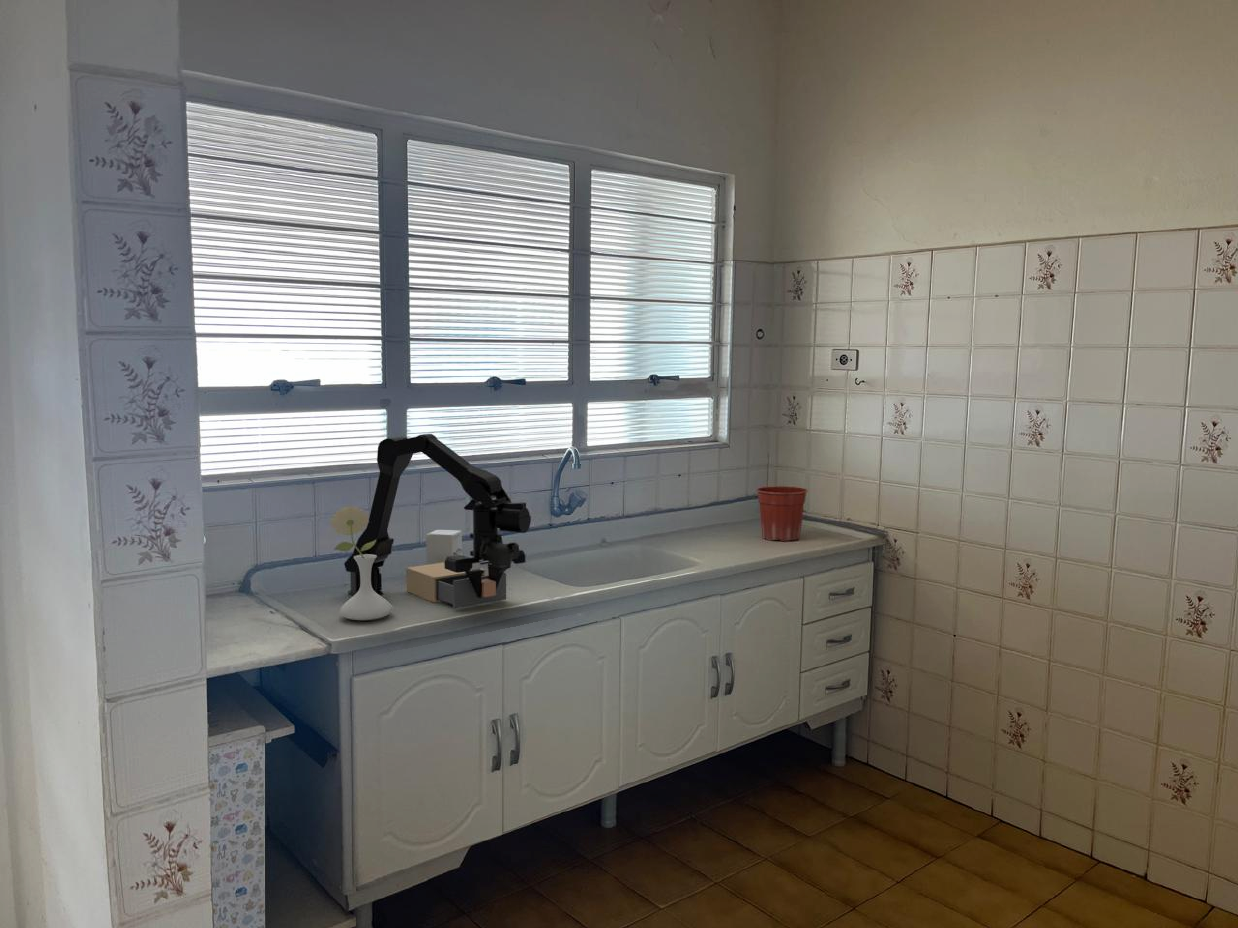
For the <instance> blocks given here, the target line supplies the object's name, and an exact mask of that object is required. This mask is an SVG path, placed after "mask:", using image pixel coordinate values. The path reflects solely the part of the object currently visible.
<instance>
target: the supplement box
mask: <svg viewBox="0 0 1238 928" xmlns="http://www.w3.org/2000/svg"><path fill="white" fill-rule="evenodd" d="M462 535H463V531H462V530H457V529H435V530H434V531H431V532H429V533H427V534H425V544H426V545H425V546H426V547H425V548H426V549H425V552H426V556H425V557H426V560H425V561H426V564H425V565H429V564H436V563H443V562H445V560H446V558H447V557H449V556H456V555H462V556H463V536H462Z"/></svg>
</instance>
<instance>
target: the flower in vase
mask: <svg viewBox="0 0 1238 928" xmlns="http://www.w3.org/2000/svg"><path fill="white" fill-rule="evenodd" d="M368 520H369V517H368V515H367V513H366V512H365V510H364V509H359V507H358V506H354V507H353V506H352V505H350V506H348V507H345V506H343V507H342V508H341V509H338V510H337V511H335V513H334V515H333V516H332V519H331V520H330V524H331V527H332V528H334V529H333V530H334V532H336V533H337V534H344V536H351V542H348V541H342V542H340V543H338V544H337V545H336V546H335V547H334V550H335V551H341V552H349V551H350V550H351V549H353V547H354V548H356V549H357V550H358V552H359V553H360V555H356V556H354V557H353V558H354V559H355V560H356V562H357V564H358V566H359V570H360V579H361V583H360V589H359V591H358V592H357V593H356V594H355V595H354V596H353V595H352V597H350V598H349V599H348V600H347V601H346V602H345V603H343V605H342V606H341V607H340V610H339V614H340V615H341V616H342V617H343V618H345V619H349V620H354V621H370V620H371V621H372V620H377V619H381V618H384V617H387V616H388V615H390V614H391V613H392V611H393V610H394V609H393V606H392V603H390V602H389V601H388V600H387V599H385V598H384V597H383V596H382V595H381V594H379V595H378V594H377V593H376V592H375V591H374V590H373V588H372V586H371V569H372V565H373V562H374V560H375V559H376V557H377V556H376V555H372V554H363V555H362V553H361V552H360V550H359V549H358V548H357V547H356V544H355V542H354V534H359V532H364V530H365V528H366V527H367V524H368V523H369V521H368ZM375 542H376V540H374V541H372V542H370V543H367V544H365V545H364V546H363V547H362V548H361V551H364V550H368V549H370V548H371V547H372V546H373V545H374V544H375Z"/></svg>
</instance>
